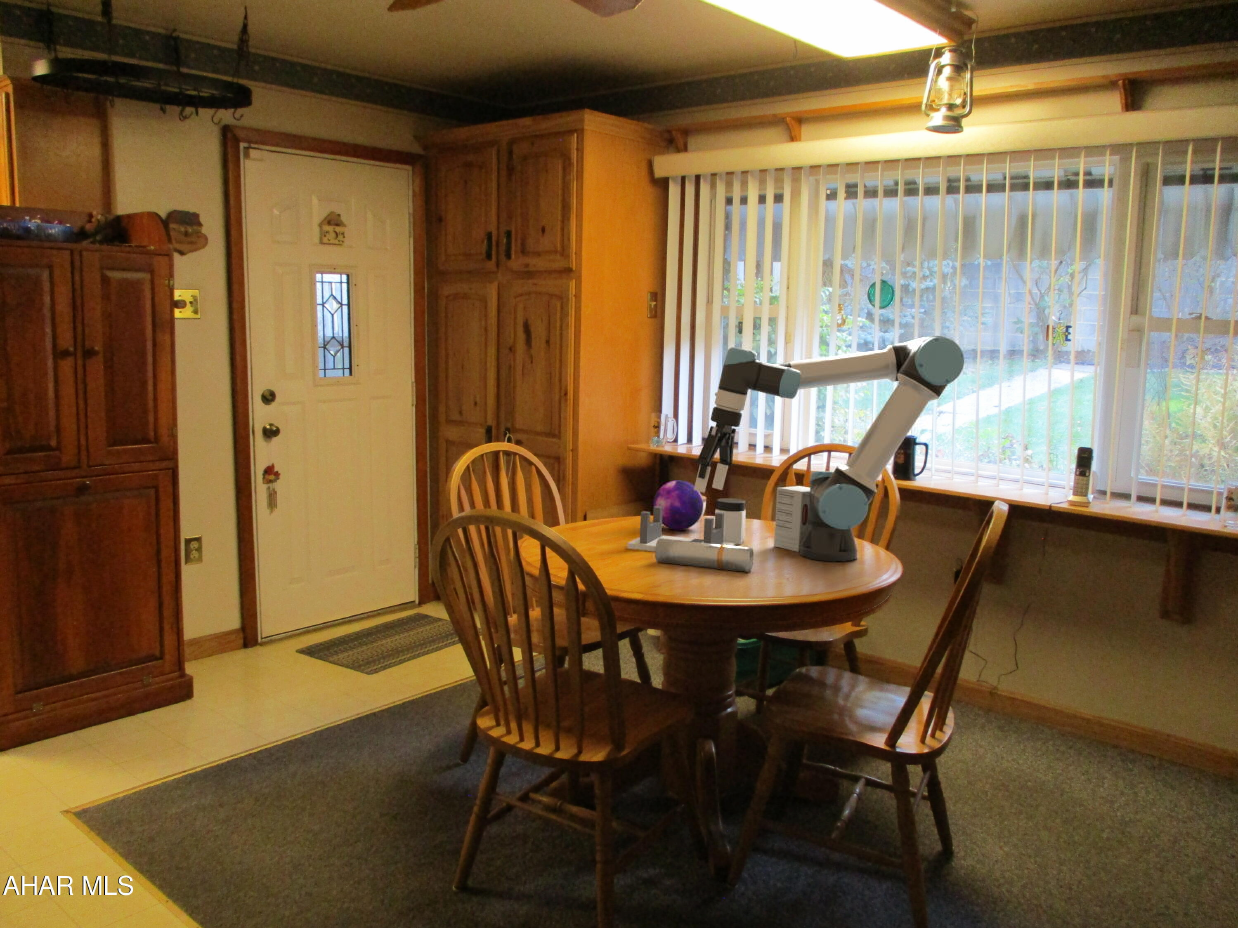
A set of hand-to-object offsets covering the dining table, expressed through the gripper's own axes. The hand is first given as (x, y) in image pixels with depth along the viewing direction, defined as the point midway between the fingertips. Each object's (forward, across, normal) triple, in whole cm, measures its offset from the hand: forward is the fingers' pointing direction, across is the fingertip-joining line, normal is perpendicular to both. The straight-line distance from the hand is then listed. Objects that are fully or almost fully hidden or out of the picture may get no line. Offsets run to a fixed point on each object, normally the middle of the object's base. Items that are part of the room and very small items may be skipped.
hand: (708, 489), depth 245 cm
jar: (+17, -30, 0) cm, 34 cm away
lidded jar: (+19, -56, -22) cm, 63 cm away
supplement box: (+13, -33, +19) cm, 40 cm away
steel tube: (+16, +5, +4) cm, 17 cm away
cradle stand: (+20, -13, -8) cm, 25 cm away
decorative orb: (+20, -39, -19) cm, 48 cm away
